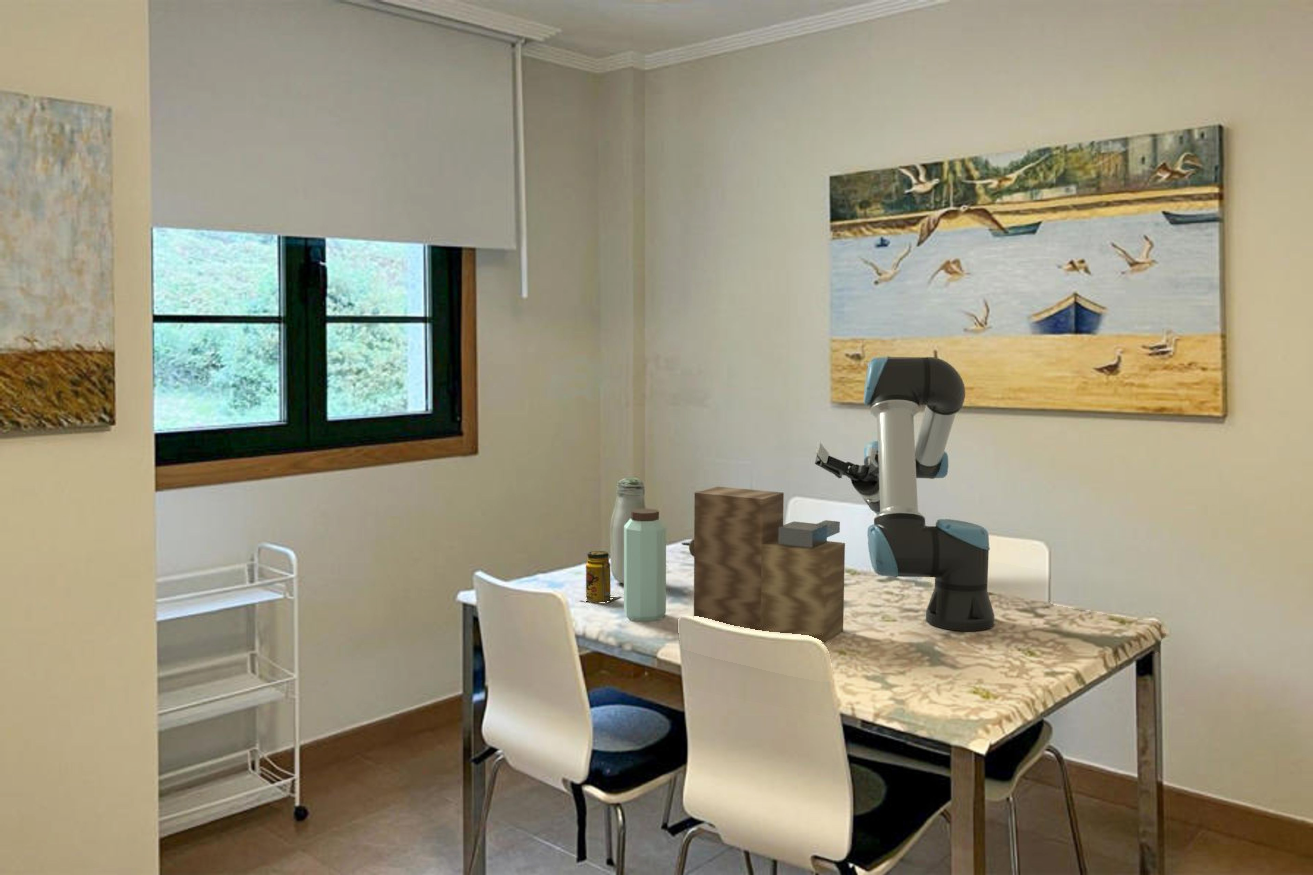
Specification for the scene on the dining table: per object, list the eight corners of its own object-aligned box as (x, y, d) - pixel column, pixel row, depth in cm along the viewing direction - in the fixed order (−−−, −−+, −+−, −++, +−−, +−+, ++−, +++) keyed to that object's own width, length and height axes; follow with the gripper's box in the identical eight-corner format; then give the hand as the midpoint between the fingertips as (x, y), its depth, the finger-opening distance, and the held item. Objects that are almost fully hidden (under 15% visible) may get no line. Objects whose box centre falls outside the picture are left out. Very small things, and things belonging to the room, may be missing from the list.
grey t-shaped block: (848, 533, 253) (849, 516, 252) (812, 548, 235) (812, 530, 235) (816, 529, 257) (816, 512, 257) (778, 544, 239) (778, 526, 239)
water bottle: (661, 623, 250) (661, 515, 247) (619, 621, 252) (618, 513, 249) (669, 612, 259) (670, 508, 257) (628, 610, 261) (628, 506, 259)
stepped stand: (843, 631, 244) (845, 498, 241) (823, 643, 234) (826, 505, 231) (716, 611, 260) (717, 486, 257) (693, 622, 251) (694, 492, 248)
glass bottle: (622, 589, 282) (621, 481, 279) (604, 581, 291) (604, 476, 288) (655, 585, 286) (655, 479, 284) (637, 577, 295) (637, 474, 292)
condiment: (579, 601, 270) (578, 553, 268) (596, 594, 277) (596, 547, 276) (604, 605, 266) (604, 556, 265) (621, 597, 274) (621, 550, 272)
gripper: (912, 500, 279) (889, 466, 262) (821, 492, 292) (793, 459, 275) (918, 473, 281) (895, 438, 265) (827, 466, 294) (800, 432, 278)
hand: (843, 449), depth 270 cm, fingers open, 13 cm apart
